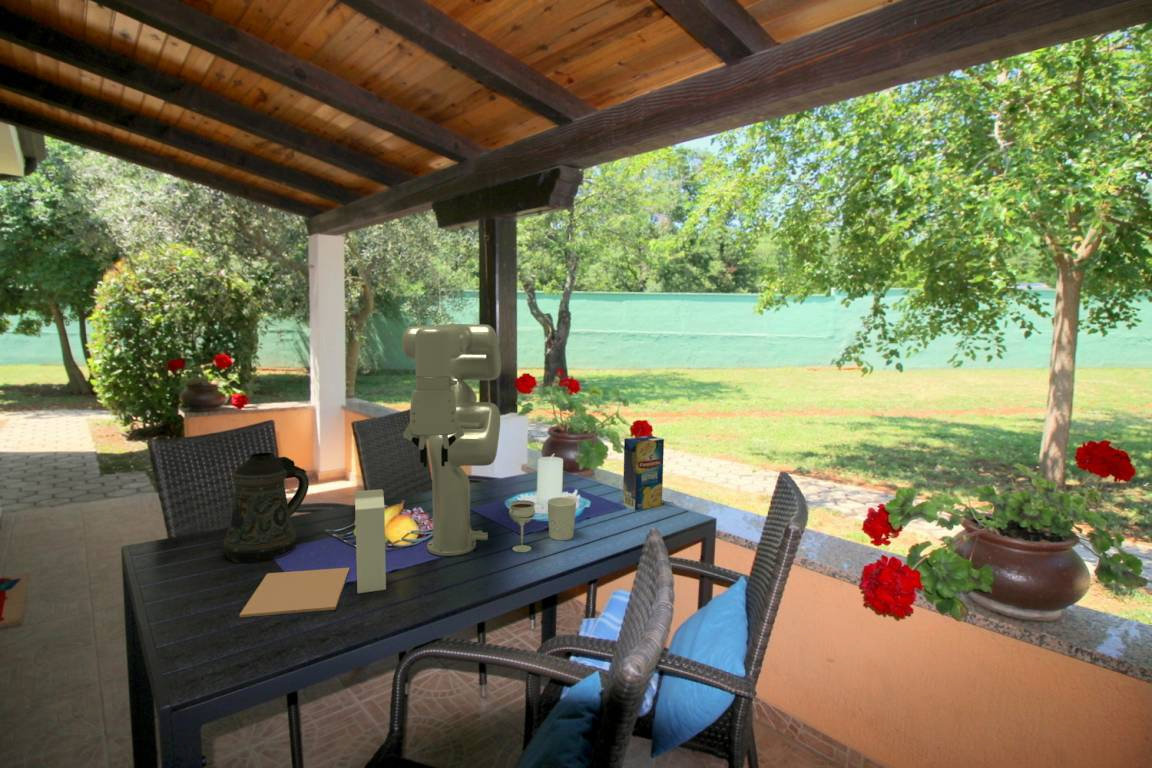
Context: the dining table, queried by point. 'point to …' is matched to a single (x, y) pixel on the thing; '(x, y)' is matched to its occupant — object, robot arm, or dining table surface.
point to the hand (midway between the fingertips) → (434, 464)
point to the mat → (297, 592)
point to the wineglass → (522, 518)
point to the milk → (370, 540)
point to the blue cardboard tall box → (643, 472)
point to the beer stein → (263, 509)
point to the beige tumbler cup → (561, 518)
